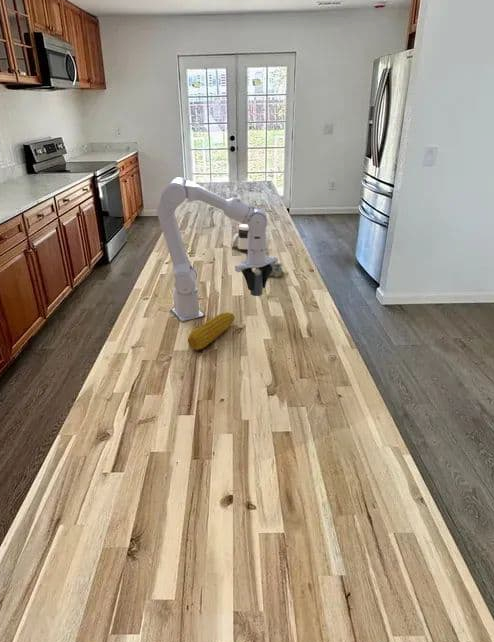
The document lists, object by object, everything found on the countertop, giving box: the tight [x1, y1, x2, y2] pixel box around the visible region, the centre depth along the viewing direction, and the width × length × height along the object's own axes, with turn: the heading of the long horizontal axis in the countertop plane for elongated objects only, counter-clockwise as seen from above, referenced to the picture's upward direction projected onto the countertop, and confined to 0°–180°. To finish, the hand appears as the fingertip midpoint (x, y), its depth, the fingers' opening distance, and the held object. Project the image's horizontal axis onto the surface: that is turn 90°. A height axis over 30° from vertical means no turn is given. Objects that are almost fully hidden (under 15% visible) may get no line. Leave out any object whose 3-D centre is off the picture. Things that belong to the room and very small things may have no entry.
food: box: [187, 311, 235, 351], centre depth 131 cm, size 21×6×6 cm, turn 149°
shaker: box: [249, 269, 264, 297], centre depth 140 cm, size 4×4×8 cm
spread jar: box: [230, 223, 249, 253], centre depth 202 cm, size 12×11×12 cm
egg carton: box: [254, 262, 283, 278], centre depth 176 cm, size 11×8×4 cm
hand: (256, 288), depth 141 cm, fingers closed on shaker, 4 cm apart
